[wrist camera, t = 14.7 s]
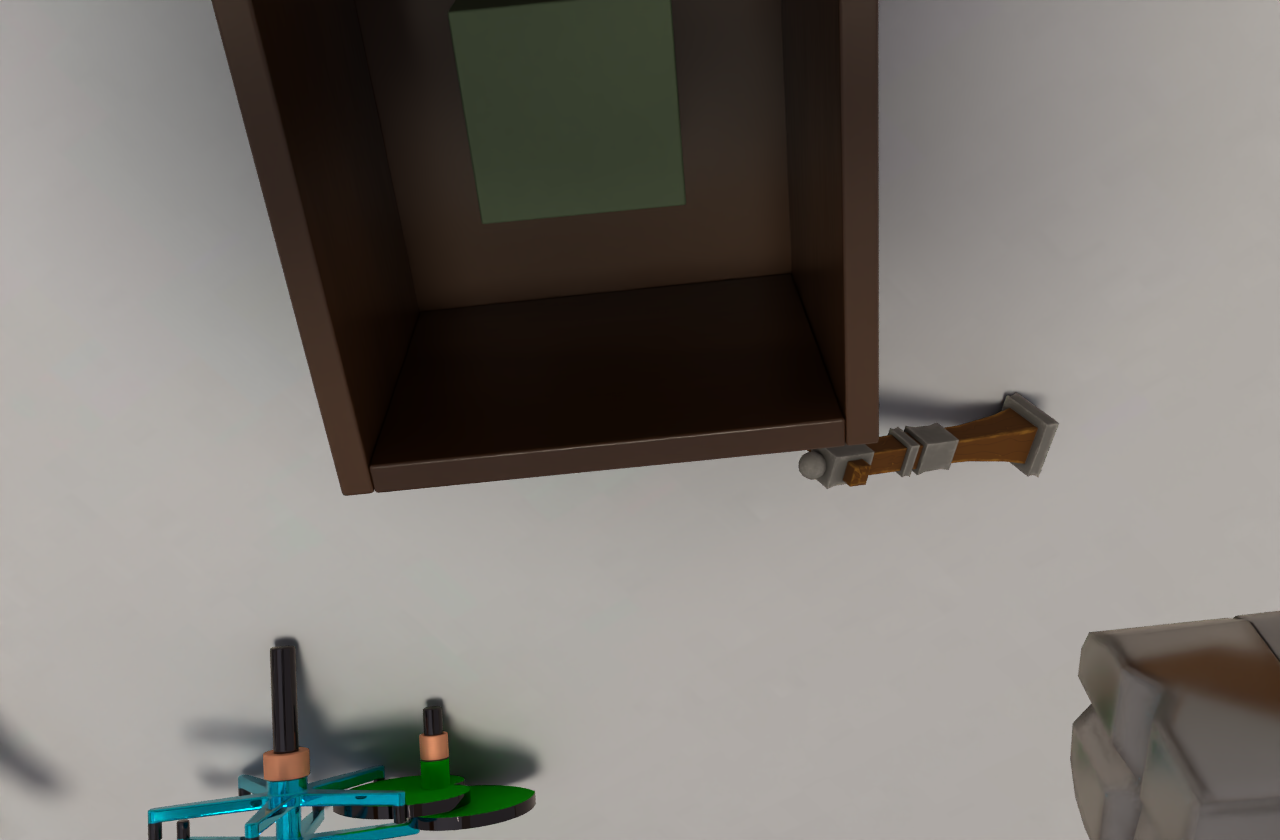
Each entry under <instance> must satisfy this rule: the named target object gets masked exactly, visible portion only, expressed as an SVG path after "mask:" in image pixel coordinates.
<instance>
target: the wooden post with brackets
mask: <svg viewBox="0 0 1280 840" xmlns="http://www.w3.org/2000/svg"><path fill="white" fill-rule="evenodd" d="M1058 425H1059V423H1058V422H1057V421H1055V420H1054V419H1053V418H1051V417H1050V416H1049V415H1047V414H1046V413H1044V412H1043V411H1042V410H1040V409H1039V408H1037V407H1036V406H1035V405H1033V404H1032V403H1030V402H1029V401H1028V400H1026V399H1025V398H1023V397H1022V396H1021V395H1019V394H1018V393H1015V394H1014V395H1012V396H1008V395H1007V396H1006V399H1005V402H1004V404H1003V407H1002V410H1001V412H999V413H997V414H995V415H992V416H989V417H985V418H982V419H979V420H975V421H972V422H969V423H965V424H962V425H958V426H952V427H945V428H943V427H942V426H941V425H940V424H939V423H934V424H932V425H930V426H921V427H909V426H905V430H904V432H903V431H902V430H901V429H900V428H899V427H897V428H895V429H891V428H890V430H889V433H888V435H887V436H882V437H879V440H878V442H877V443H871V444H861V445H851V446H849V445H847V444H846V443H845V445H844V446H841V447H831V448H821V449H811V450H807V451H809V452H808V453H806V454H804V455H803V456H802V457H801V459H800V460H799V471H800V472H801V474H802V475H803V476H804V477H806V478H808V479H816V480H818V481H819V482H820V483H821V484H822V485H823V486H824V487H826V488H827V489H828V488H830V487H833V486H836V485H842V484H848V485H849V486H850V487H851V486H858V485H866V481H867V478H868V475H873V474H880V473H887V472H897V473H898V474H899V475H900V476H901V477H903V476H909V477H910V474H911V471H913V472H914V473H916V474H917V475H919V474H921V473H923V472H925V471H931V470H937V469H946V470H949V468H950V465H951V463H956V462H965V461H1006V462H1010V463H1011V464H1013V465H1014V466H1015V467H1016V468H1018V469H1019V470H1020V471H1022V472H1023V473H1024V474H1025V475H1027V476H1030V475H1035V476H1037V477H1039V474H1040V472H1041V469H1042V466H1043V464H1044V461H1045V458H1046V456H1047V453H1048V451H1049V448H1050V445H1051V443H1052V440H1053V438H1054V435H1055V432H1056V430H1057V427H1058Z"/></svg>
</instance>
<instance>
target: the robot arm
mask: <svg viewBox="0 0 1280 840" xmlns="http://www.w3.org/2000/svg"><path fill="white" fill-rule="evenodd" d="M1078 677H1079V679H1080V681H1081V683H1082V685H1083V687H1084V689H1085V691H1086V693H1087V695H1088V697H1089V699H1090V701H1091V703H1092V704H1091V705H1090V706H1089V707H1088V708H1087V709H1086V710H1085V711H1084V712H1083V713H1082V714H1081V715H1080V716H1079V717H1078V718H1077V719H1076V720H1075V721H1074V723H1073V727H1072V741H1071V756H1070V761H1071V768H1072V776H1073V784H1074V791H1075V798H1076V801H1077V804H1078V808H1079V811H1080V814H1081V818H1082V821H1083V824H1084V827H1085V830H1086V832H1087V834H1088V837H1089V839H1090V840H1280V611H1274V612H1265V613H1256V614H1247V615H1239V616H1235V617H1234V618H1233V619H1232V618H1220V619H1211V620H1201V621H1192V622H1182V623H1173V624H1163V625H1154V626H1144V627H1135V628H1125V629H1116V630H1106V631H1097V632H1089V634H1088V636H1087V638H1086V640H1085V642H1084V644H1083V646H1082V648H1081V656H1080V664H1079V672H1078Z"/></svg>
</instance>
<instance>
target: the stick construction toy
mask: <svg viewBox="0 0 1280 840" xmlns="http://www.w3.org/2000/svg"><path fill="white" fill-rule="evenodd" d="M270 668H271V697H272V727H273V750H271V751H267V752H265V753H264V754H263V768H264V779H265V780H264V779H261V778H257V777H254V776H251V775H241V776H239V777H238V792H239V796H237V797H230V798H223V799H215V800H208V801H201V802H194V803H187V804H180V805H173V806H166V807H159V808H152V809H150V810H149V811H148V840H161V839H162V822H165V821H173V820H179V821H178V822H177V840H383V839H389V838H395V837H401V836H407V835H413V834H418V833H419V832H420V830H429V831H445V830H459V829H468V828H475V827H481V826H487V825H492V824H496V823H500V822H504V821H507V820H510V819H513V818H516V817H519V816H521V815H523V814H525V813H527V812H528V811H530V810H531V809H532V808H533V807H534V806H535V804H536V798H535V791H533V790H530V789H526V788H521V787H514V786H502V785H475V786H466V785H465V784H464V778H463V777H460V776H455V775H450V770H449V757H448V756H449V747H448V733H447V732H444V731H443V721H442V707H440V706H430V707H425V708H424V709H423V723H424V733H423V734H420V735H419V742H420V759H421V760H420V764H421V775H419V776H408V777H400V778H394V779H388V780H385V767H384V766H383V765H377V766H373V767H369V768H366V769H362V770H358V771H354V772H350V773H346V774H343V775H339V776H335V777H331V778H327V779H323V780H320V781H316V782H312V783H308V775H309V774H310V759H309V749H308V748H306V747H299V737H298V709H297V681H296V653H295V646H278V647H272V648H271V649H270ZM373 780H374V782H373V783H369V784H365V785H362V786H358V787H355V788H352V789H350V790H344V789H347V788H350V787H354V786H357V785H360V784H363V783H367V782H370V781H373ZM251 793H252V794H251ZM301 806H312V810H313V811H312V812H311V813H310V814H309V815H308V816H306V817H305V818H304V819H303V820H302V821H301ZM324 806H333V812H335V813H337V814H339V815H343V816H347V817H352V818H361V819H394V823H390V824H382V825H375V826H367V827H360V828H352V829H345V830H337V831H330V832H322V833H315V831H316V830H317V828H318V827H319V826H320V824H321V823H322V822H323V820H324ZM253 810H259V811H258V812H257V813H256V814H255V815H254V816H253V817H252V818H251V819H250V820H249V821H248V822H247V823H246V824H245V837H190V822H189V820H188V819H189V818H197V817H205V816H213V815H221V814H229V813H237V812H245V811H253ZM181 819H183V820H181ZM274 822H276V836H274V837H260V836H259V834H260V833H262V832H263V831H264V830H265V829H267V828H268V827H269V826H271V825H272V824H273V823H274ZM314 833H315V834H314Z"/></svg>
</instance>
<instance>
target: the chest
mask: <svg viewBox="0 0 1280 840" xmlns="http://www.w3.org/2000/svg"><path fill="white" fill-rule="evenodd" d="M211 1H212V5H213V9H214V12H215V16H216V20H217V24H218V28H219V31H220V35H221V39H222V43H223V46H224V50H225V54H226V58H227V61H228V65H229V69H230V73H231V76H232V80H233V84H234V88H235V92H236V95H237V99H238V103H239V107H240V110H241V114H242V118H243V122H244V125H245V129H246V133H247V137H248V140H249V144H250V148H251V152H252V156H253V159H254V163H255V167H256V171H257V174H258V178H259V182H260V186H261V189H262V193H263V197H264V201H265V204H266V208H267V212H268V216H269V220H270V223H271V227H272V231H273V235H274V238H275V242H276V246H277V250H278V253H279V257H280V261H281V265H282V268H283V272H284V276H285V280H286V284H287V287H288V291H289V295H290V299H291V302H292V306H293V310H294V314H295V317H296V321H297V325H298V329H299V332H300V336H301V340H302V344H303V348H304V351H305V355H306V359H307V363H308V366H309V370H310V374H311V378H312V381H313V385H314V389H315V393H316V396H317V400H318V404H319V408H320V412H321V415H322V419H323V423H324V427H325V430H326V434H327V438H328V442H329V445H330V449H331V453H332V457H333V460H334V464H335V468H336V472H337V476H338V479H339V483H340V487H341V491H342V493H343V495H345V496H348V495H358V494H368V493H372V492H374V489H375V491H376V492H378V493H380V492H390V491H400V490H410V489H420V488H430V487H440V486H450V485H460V484H470V483H480V482H490V481H500V480H510V479H520V478H530V477H540V476H550V475H560V474H570V473H580V472H590V471H600V470H610V469H620V468H630V467H640V466H651V465H661V464H671V463H681V462H691V461H701V460H711V459H721V458H731V457H741V456H751V455H761V454H771V453H781V452H791V451H801V450H811V449H821V448H831V447H841V446H844V445H845V443H846V444H847V445H849V446H851V445H861V444H871V443H877V442H878V440H879V97H878V0H671V3H672V17H673V30H674V44H675V57H676V71H677V85H678V98H679V112H680V125H681V139H682V152H683V166H684V179H685V193H686V204H685V205H678V206H668V207H658V208H647V209H637V210H626V211H616V212H605V213H595V214H584V215H574V216H564V217H553V218H543V219H532V220H522V221H511V222H501V223H490V224H482V222H481V216H480V210H479V204H478V198H477V192H476V185H475V179H474V173H473V167H472V161H471V155H470V149H469V143H468V136H467V130H466V124H465V118H464V112H463V106H462V100H461V94H460V87H459V81H458V75H457V69H456V63H455V57H454V51H453V45H452V39H451V32H450V26H449V20H448V11H449V10H450V8H451V6H452V5H453V3H454V2H455V0H211Z"/></svg>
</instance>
